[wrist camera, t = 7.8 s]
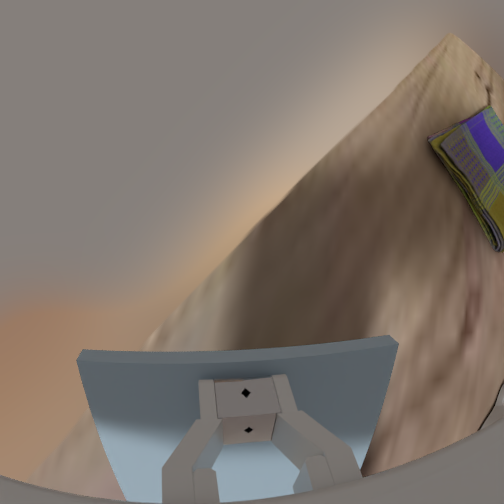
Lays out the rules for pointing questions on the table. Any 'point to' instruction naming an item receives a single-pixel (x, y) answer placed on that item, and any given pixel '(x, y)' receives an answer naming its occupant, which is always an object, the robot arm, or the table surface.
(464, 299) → the table surface
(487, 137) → the dish towel
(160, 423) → the flap
